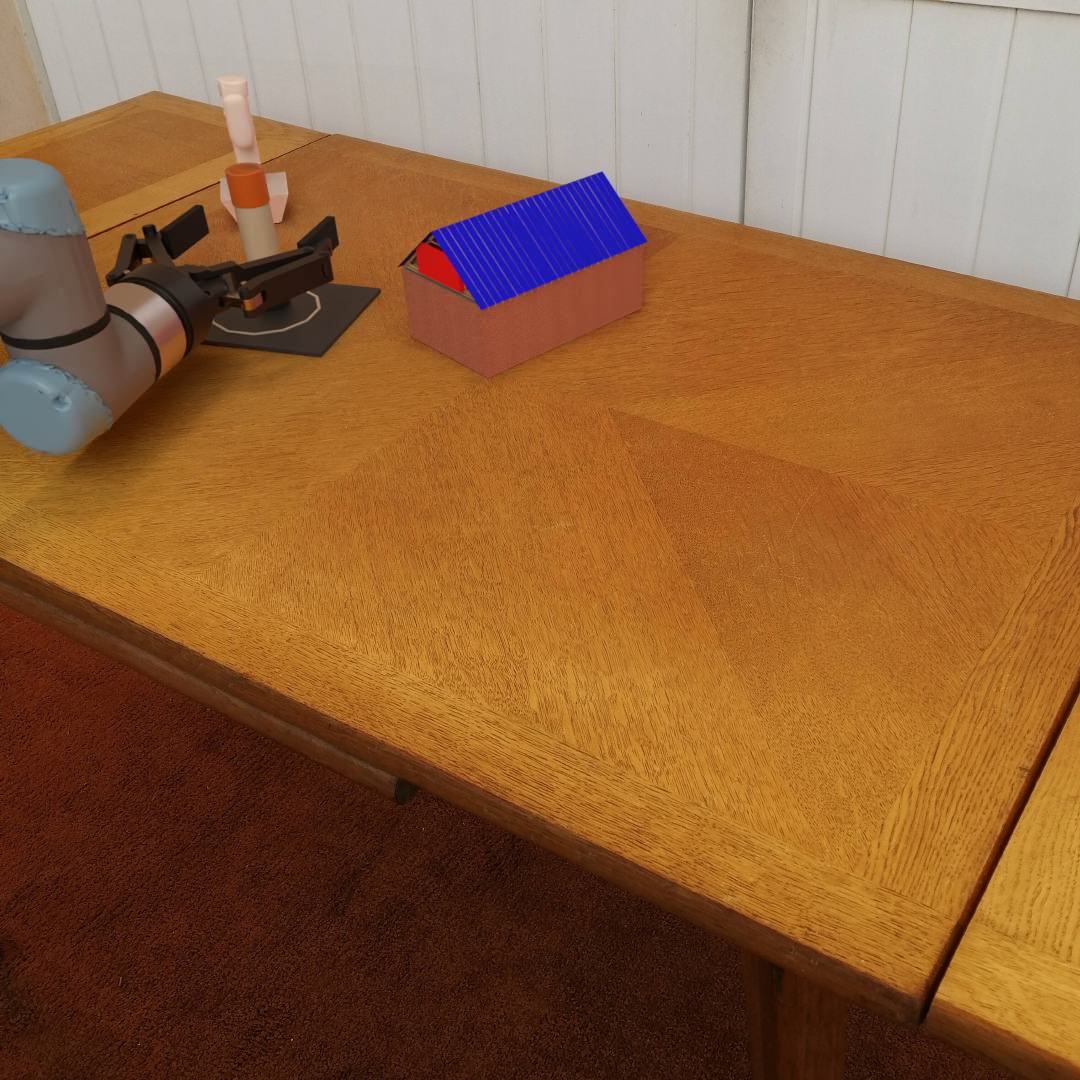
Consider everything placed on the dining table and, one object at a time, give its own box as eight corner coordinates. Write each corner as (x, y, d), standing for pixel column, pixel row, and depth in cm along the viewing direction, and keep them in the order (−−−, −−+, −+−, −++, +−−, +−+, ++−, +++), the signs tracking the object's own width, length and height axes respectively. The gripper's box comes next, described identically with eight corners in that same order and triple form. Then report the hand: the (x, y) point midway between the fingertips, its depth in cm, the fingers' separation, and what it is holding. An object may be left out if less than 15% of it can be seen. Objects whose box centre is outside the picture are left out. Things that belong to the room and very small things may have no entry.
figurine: (291, 200, 131) (264, 62, 121) (295, 230, 124) (267, 87, 114) (227, 206, 129) (195, 68, 120) (228, 237, 122) (194, 93, 113)
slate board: (144, 337, 105) (143, 332, 104) (218, 275, 115) (217, 270, 115) (320, 357, 101) (320, 352, 101) (381, 291, 111) (380, 287, 111)
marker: (249, 309, 108) (217, 173, 100) (265, 294, 110) (236, 160, 102) (281, 312, 107) (252, 176, 99) (297, 297, 110) (269, 163, 101)
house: (646, 308, 108) (648, 187, 100) (487, 380, 97) (476, 252, 90) (563, 271, 115) (559, 155, 107) (405, 336, 104) (388, 212, 97)
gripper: (28, 350, 95) (160, 251, 111) (297, 381, 91) (395, 273, 106) (-4, 266, 90) (139, 175, 106) (278, 294, 86) (384, 195, 101)
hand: (267, 224), depth 106 cm, fingers open, 13 cm apart
